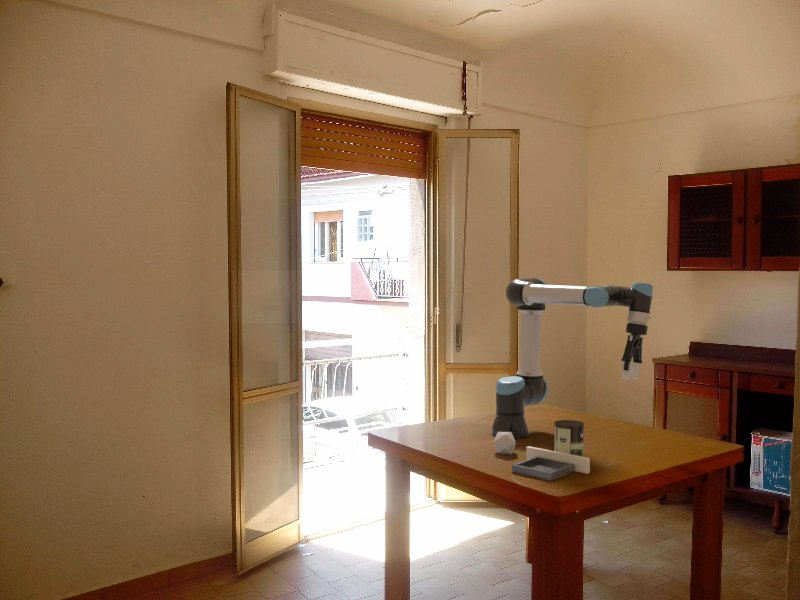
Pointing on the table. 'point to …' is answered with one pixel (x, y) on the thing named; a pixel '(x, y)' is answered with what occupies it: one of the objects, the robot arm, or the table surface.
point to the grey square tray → (543, 468)
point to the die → (504, 442)
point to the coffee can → (569, 437)
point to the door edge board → (560, 458)
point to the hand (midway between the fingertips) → (629, 379)
